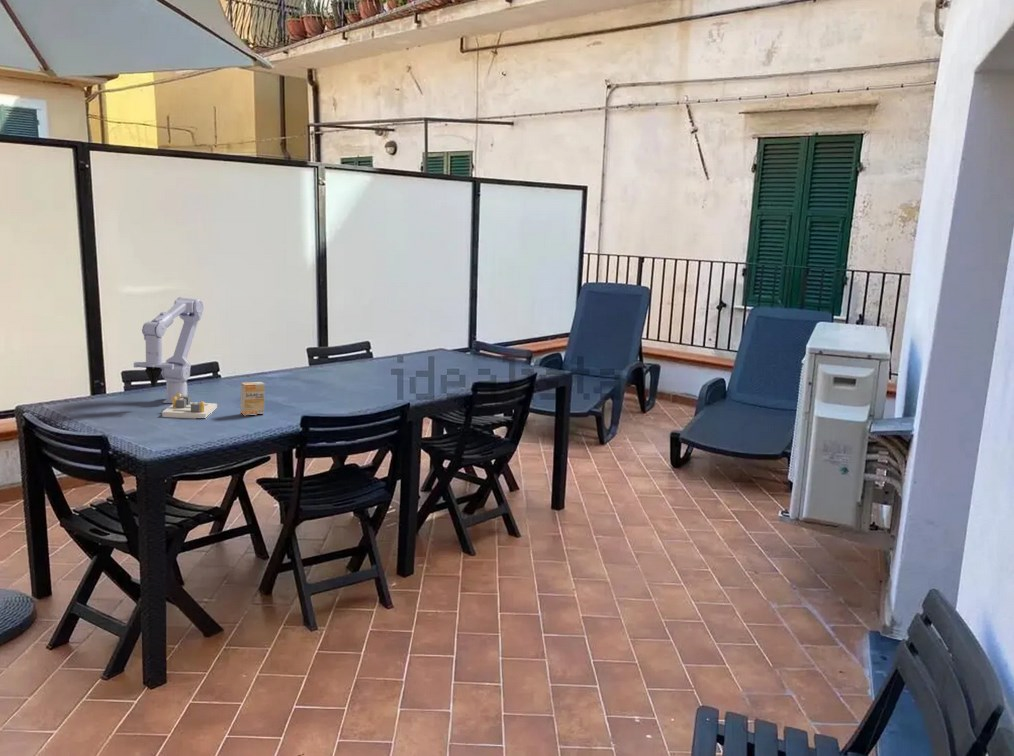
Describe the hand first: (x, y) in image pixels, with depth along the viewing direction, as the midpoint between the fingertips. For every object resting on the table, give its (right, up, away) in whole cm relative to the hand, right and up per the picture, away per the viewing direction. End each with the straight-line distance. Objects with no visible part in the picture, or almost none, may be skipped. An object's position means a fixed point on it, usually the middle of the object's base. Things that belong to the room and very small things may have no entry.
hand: (154, 386), depth 297 cm
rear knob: (+10, -7, +6) cm, 13 cm away
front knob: (+18, -10, -4) cm, 21 cm away
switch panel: (+14, -11, +1) cm, 17 cm away
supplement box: (+37, -12, +6) cm, 39 cm away
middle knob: (+11, -8, 0) cm, 13 cm away
